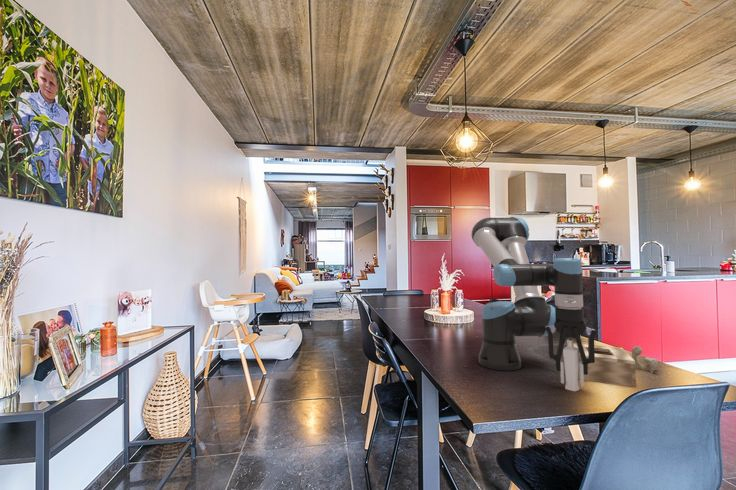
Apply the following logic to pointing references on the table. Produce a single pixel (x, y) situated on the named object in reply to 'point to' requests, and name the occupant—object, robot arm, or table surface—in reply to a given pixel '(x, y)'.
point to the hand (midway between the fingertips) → (572, 383)
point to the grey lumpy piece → (651, 362)
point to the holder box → (610, 366)
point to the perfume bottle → (571, 365)
